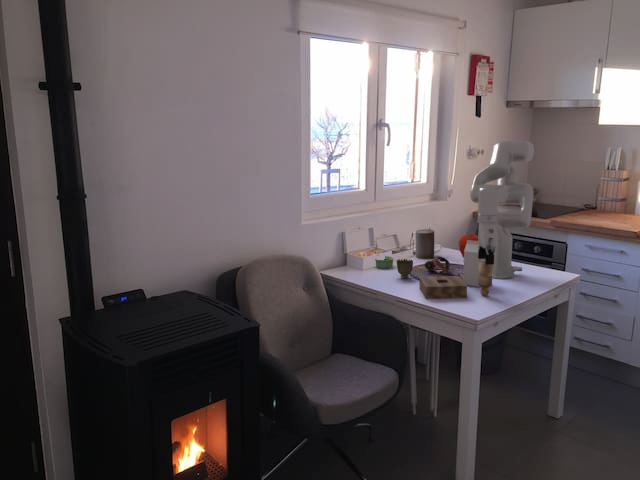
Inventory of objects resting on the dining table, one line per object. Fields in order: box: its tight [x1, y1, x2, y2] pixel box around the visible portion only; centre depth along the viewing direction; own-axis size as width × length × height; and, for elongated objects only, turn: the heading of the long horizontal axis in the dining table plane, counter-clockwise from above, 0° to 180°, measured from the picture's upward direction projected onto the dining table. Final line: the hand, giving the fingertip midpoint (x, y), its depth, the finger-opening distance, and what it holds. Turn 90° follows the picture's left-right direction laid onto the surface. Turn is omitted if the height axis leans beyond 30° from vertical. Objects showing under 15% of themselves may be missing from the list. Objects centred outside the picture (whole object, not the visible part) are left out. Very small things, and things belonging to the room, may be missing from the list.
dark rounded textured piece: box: [396, 258, 414, 280], centre depth 245 cm, size 8×7×8 cm
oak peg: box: [478, 262, 493, 298], centre depth 217 cm, size 5×5×14 cm
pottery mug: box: [424, 256, 451, 275], centre depth 252 cm, size 12×10×8 cm
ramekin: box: [374, 255, 394, 270], centre depth 265 cm, size 9×9×4 cm
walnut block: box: [418, 275, 468, 300], centre depth 223 cm, size 16×14×5 cm
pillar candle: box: [415, 228, 435, 260], centre depth 280 cm, size 10×10×15 cm
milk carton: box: [462, 240, 485, 288], centre depth 232 cm, size 7×7×19 cm
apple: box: [458, 234, 478, 259], centre depth 269 cm, size 12×12×14 cm
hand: (485, 261), depth 214 cm, fingers open, 9 cm apart
